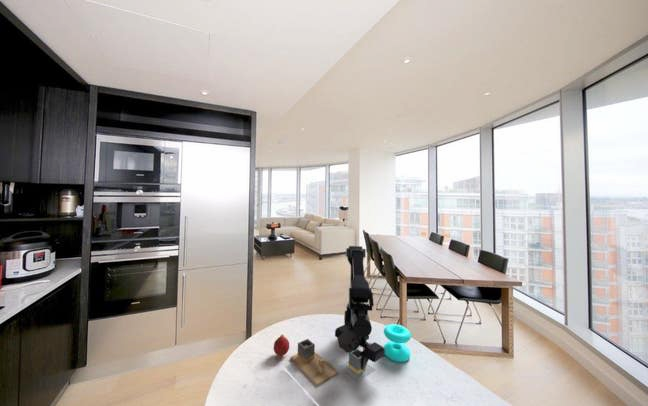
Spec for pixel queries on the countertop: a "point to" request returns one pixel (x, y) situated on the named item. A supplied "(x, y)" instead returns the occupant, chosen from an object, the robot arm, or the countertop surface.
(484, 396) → the countertop surface
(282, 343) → the onion
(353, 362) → the sleeve
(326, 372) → the pin board
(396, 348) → the donuts
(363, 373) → the mat
